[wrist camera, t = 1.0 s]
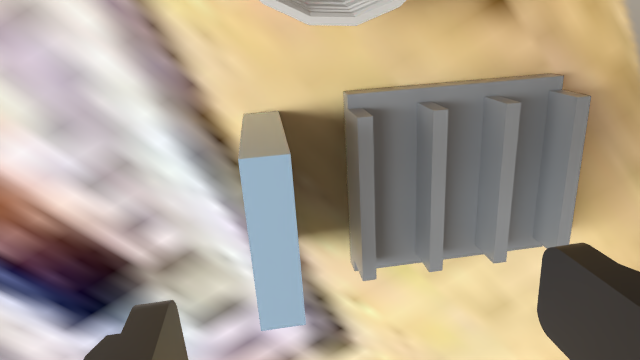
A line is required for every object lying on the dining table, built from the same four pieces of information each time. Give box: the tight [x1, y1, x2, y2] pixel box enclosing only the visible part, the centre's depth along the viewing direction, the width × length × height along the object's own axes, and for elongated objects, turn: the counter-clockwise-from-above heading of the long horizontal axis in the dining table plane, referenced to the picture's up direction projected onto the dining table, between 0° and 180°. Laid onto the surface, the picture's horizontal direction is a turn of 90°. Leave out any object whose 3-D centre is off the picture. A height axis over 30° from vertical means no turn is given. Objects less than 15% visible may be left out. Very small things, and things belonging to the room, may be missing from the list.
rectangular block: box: [238, 111, 306, 331], centre depth 28 cm, size 10×2×11 cm, turn 4°
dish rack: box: [343, 74, 591, 281], centre depth 33 cm, size 14×16×4 cm
